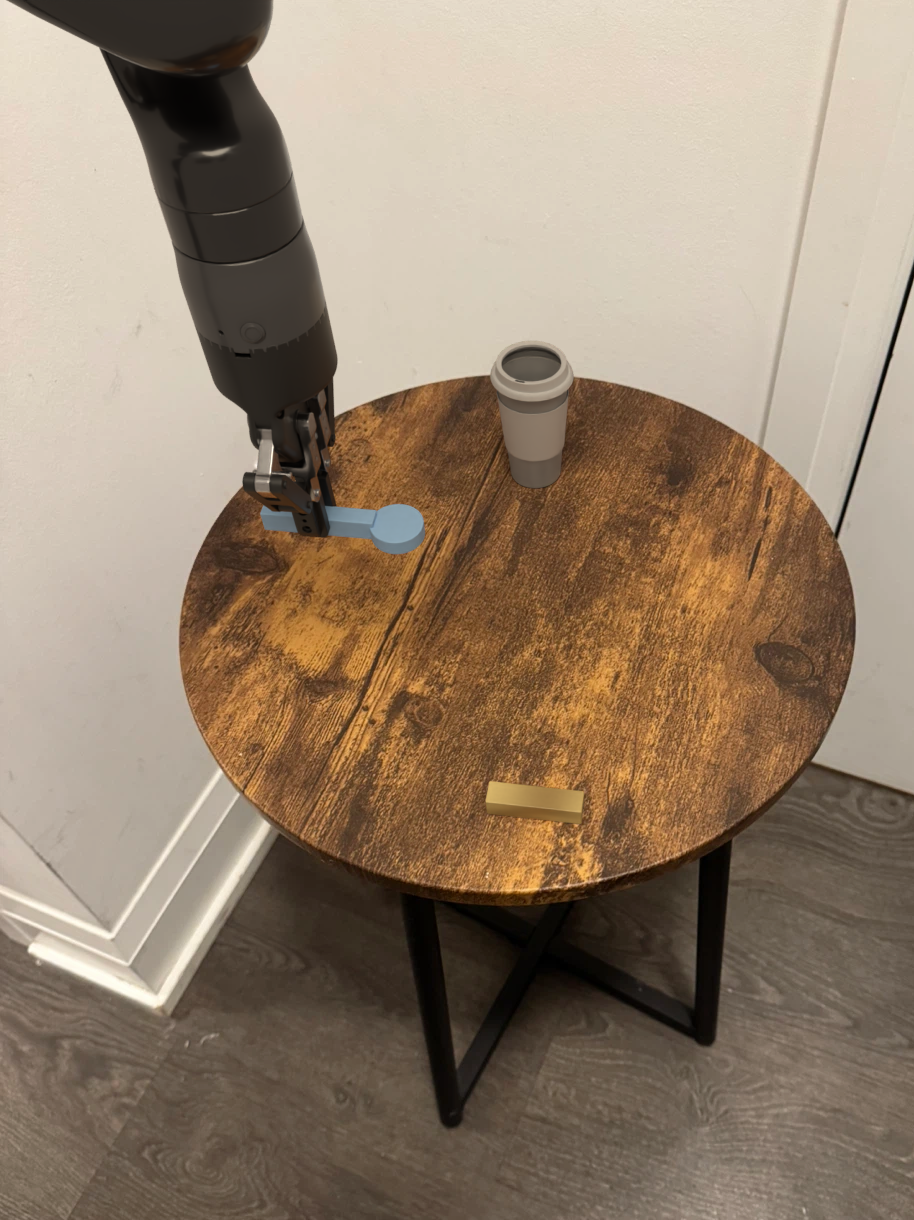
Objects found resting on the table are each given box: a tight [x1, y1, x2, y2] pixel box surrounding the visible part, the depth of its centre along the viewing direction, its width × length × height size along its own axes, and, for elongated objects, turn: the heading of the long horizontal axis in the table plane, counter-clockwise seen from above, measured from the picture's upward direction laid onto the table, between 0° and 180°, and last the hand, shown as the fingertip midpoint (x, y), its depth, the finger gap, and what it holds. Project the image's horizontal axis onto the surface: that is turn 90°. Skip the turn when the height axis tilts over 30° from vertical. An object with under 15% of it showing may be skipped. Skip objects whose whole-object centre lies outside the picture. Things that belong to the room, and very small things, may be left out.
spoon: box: [259, 503, 426, 555], centre depth 73 cm, size 11×4×2 cm, turn 83°
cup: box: [489, 340, 575, 489], centre depth 92 cm, size 7×7×12 cm
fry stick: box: [484, 780, 585, 825], centre depth 76 cm, size 7×2×2 cm, turn 82°
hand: (318, 523), depth 73 cm, fingers closed on spoon, 1 cm apart
